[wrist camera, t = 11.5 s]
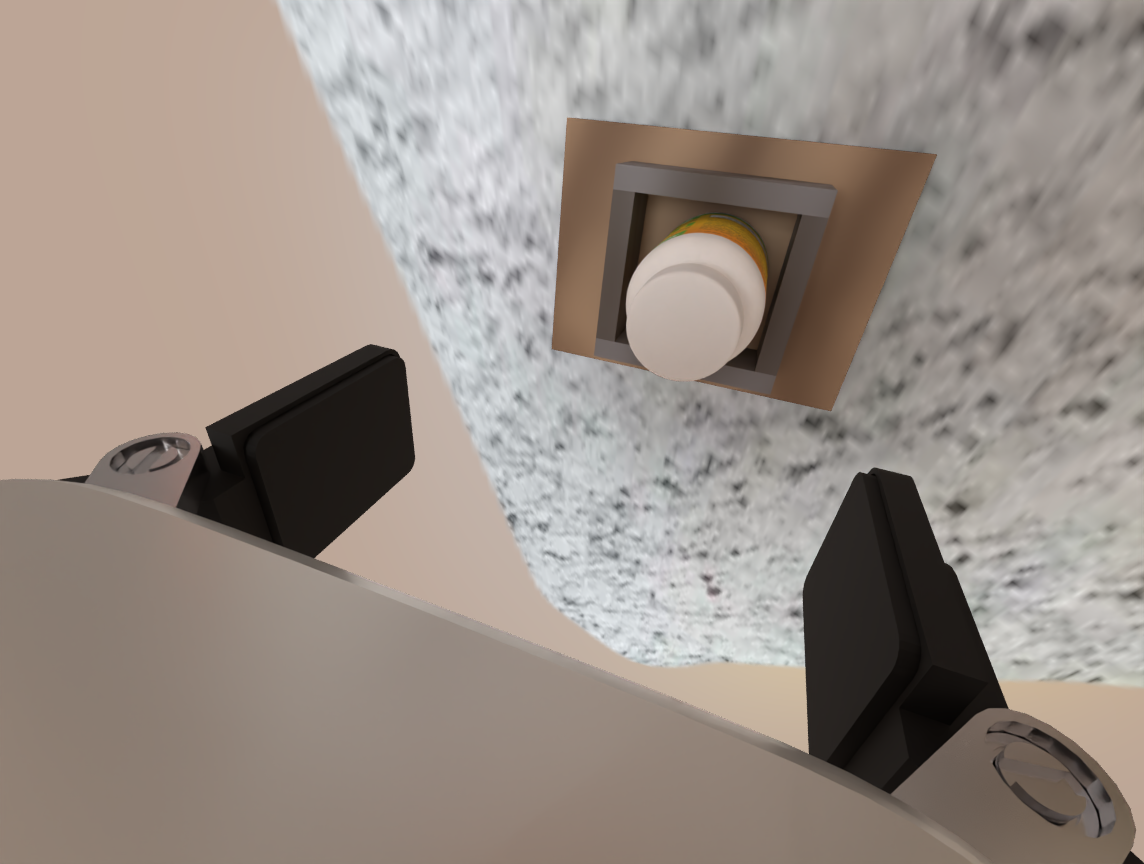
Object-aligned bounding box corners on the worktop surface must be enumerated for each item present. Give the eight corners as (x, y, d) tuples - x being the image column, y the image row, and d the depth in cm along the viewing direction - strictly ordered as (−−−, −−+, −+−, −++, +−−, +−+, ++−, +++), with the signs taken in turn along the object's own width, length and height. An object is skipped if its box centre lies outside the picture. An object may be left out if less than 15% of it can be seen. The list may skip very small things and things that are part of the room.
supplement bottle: (696, 188, 24) (655, 215, 16) (793, 248, 24) (800, 306, 16) (639, 286, 27) (581, 349, 19) (724, 340, 27) (701, 425, 19)
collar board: (928, 153, 22) (958, 157, 18) (828, 399, 28) (836, 439, 24) (577, 118, 25) (543, 115, 22) (560, 340, 32) (531, 367, 28)
